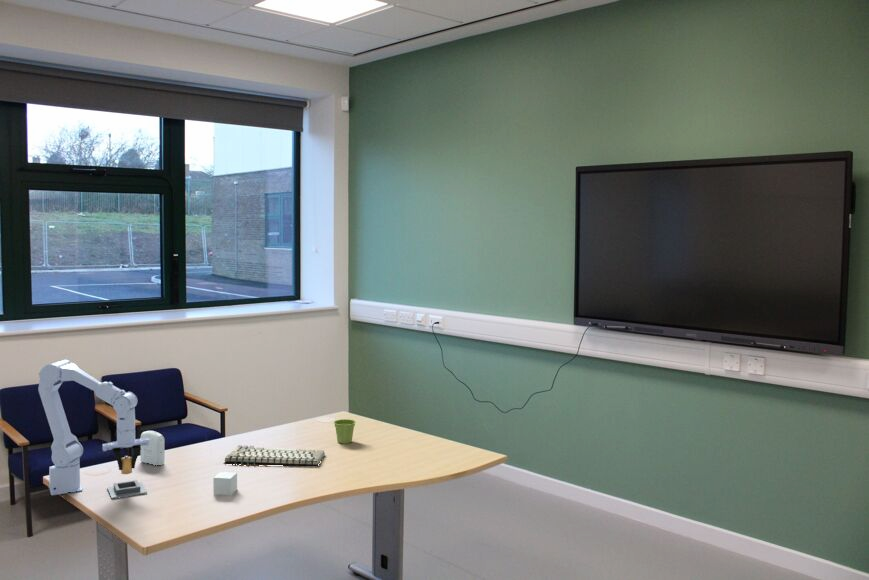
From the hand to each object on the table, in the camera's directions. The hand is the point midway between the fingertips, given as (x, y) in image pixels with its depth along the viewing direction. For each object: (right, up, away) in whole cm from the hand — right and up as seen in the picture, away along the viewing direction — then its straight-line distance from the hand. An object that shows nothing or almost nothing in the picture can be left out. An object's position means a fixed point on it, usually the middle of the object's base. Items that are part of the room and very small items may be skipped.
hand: (126, 468), depth 247 cm
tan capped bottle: (0, -1, 0) cm, 2 cm away
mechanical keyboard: (+42, -7, +39) cm, 57 cm away
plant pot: (+66, -4, +63) cm, 91 cm away
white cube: (+33, -9, +2) cm, 34 cm away
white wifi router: (-3, -6, +30) cm, 31 cm away
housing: (0, -8, +1) cm, 8 cm away
